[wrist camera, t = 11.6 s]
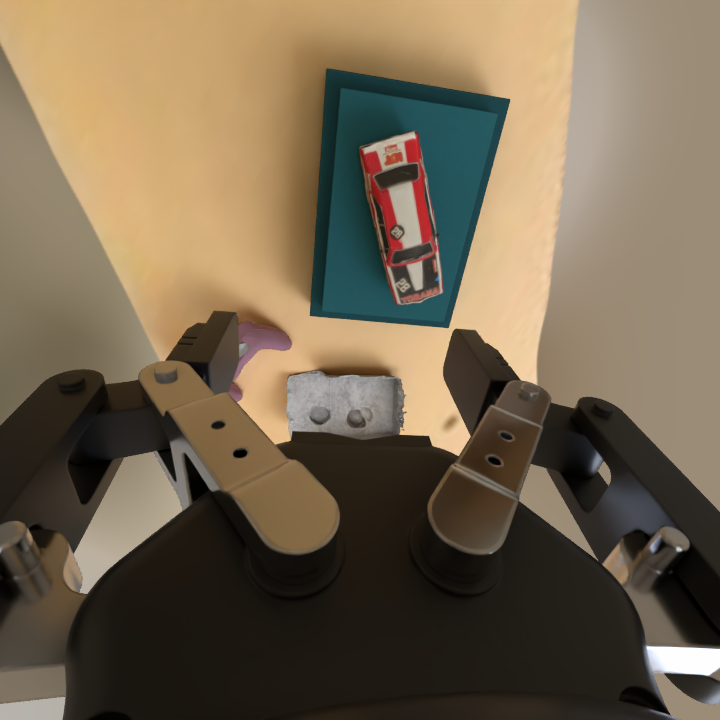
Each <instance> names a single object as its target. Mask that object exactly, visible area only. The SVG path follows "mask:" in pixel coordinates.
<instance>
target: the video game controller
mask: <svg viewBox="0 0 720 720" xmlns="http://www.w3.org/2000/svg"><path fill="white" fill-rule="evenodd" d="M238 333H239V364H238V368H237V371H236V373H235V376H234V379H233V381H232V382H234V381H235V379H236V378H237V377H238V376H239V374H240V372H241V370H242V368H243V366H244V365H245V364H246V363H247V362H248V361H249V360H250V359H251V358H252V357H253V356H254V355H255V354H256V353H257V351H259V350H261V349H274V350H280V351H285V350H289V349H290V348H291V346H292V342H291V340H290V338H289V336H287V335H286V334H285V333H284V332H282V331H280V330H279V329H276V328H274V327H271V326H268V325H263V324H255V323H253V322H252V321H246V322H244V323H242V324H240V325H239V324H238ZM228 393H229V394H230V396H231V397H232V398H233V399H234V400H235V401H236V402H238V401H240V400H241V399H242V396H243V395H242V392H241V390H240V389H239V388H238V386H236V385H235V384H233V383H232V384H231V387H230V390H229V392H228Z"/></svg>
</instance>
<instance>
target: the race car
mask: <svg viewBox="0 0 720 720" xmlns="http://www.w3.org/2000/svg"><path fill="white" fill-rule="evenodd" d="M359 152H360V163H361V165H362V169H363V175H364V179H365V189H366V195H367V200H368V203H369V206H370V210H371V214H372V219H373V222H374V227H375V231H376V235H377V239H378V243H379V248H380V252H381V257H382V260H383V264H384V268H385V272H386V278H387V281H388V284H389V287H390V291H391V294H392V297H393V299H394V302H395V304H397V305H403V304H412V303H421V302H422V301H424V300H426V299H428V298H430V297H433V296H436V295H439V294H441V293H443V292H444V289H443V280H442V268H441V261H440V253H439V244H438V238H437V237H439V233H438V234H437V232H436V224H435V216H434V211H433V207H432V203H431V198H430V194H429V187H428V178H427V174H426V171H425V167H424V163H423V157H422V151H421V147H420V142H419V134H418V132H417V131H411V132H405V133H403V134H401V135H395V136H392V137H389V138H386V139H383V140H380V141H376V142H373V143H371V144H367V145H364V146H360V148H359Z"/></svg>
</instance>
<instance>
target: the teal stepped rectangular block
mask: <svg viewBox="0 0 720 720" xmlns="http://www.w3.org/2000/svg"><path fill="white" fill-rule="evenodd" d="M509 103H510V99H506V98H500V97H494V96H488V95H482V94H476V93H470V92H464V91H458V90H452V89H447V88H441V87H435V86H429V85H423V84H417V83H411V82H405V81H399V80H393V79H387V78H382V77H376V76H370V75H364V74H358V73H352V72H346V71H340V70H334V69H328V68H327V70H326V84H325V99H324V114H323V129H322V144H321V158H320V173H319V188H318V203H317V217H316V232H315V247H314V262H313V277H312V291H311V306H310V316H317V317H328V318H340V319H351V320H363V321H374V322H386V323H397V324H409V325H420V326H432V327H443V328H449V325H450V321H451V318H452V314H453V310H454V306H455V303H456V299H457V295H458V292H459V288H460V284H461V281H462V277H463V273H464V269H465V266H466V262H467V258H468V255H469V251H470V247H471V244H472V240H473V236H474V232H475V229H476V225H477V221H478V218H479V214H480V210H481V206H482V203H483V199H484V195H485V192H486V188H487V184H488V181H489V177H490V173H491V169H492V166H493V162H494V158H495V155H496V151H497V147H498V144H499V140H500V136H501V132H502V129H503V125H504V121H505V118H506V114H507V110H508V107H509ZM411 131H417V132H418V134H419V142H420V147H421V151H422V157H423V163H424V167H425V171H426V174H427V178H428V187H429V194H430V198H431V203H432V207H433V211H434V216H435V224H436V232H437V234H438V233H439V237H437V238H438V244H439V253H440V261H441V268H442V280H443V289H444V292H443V293H441V294H439V295H436V296H433V297H430V298H428V299H426V300H424V301H422V302H421V303H412V304H403V305H397V304H395V302H394V299H393V297H392V294H391V291H390V287H389V284H388V281H387V278H386V272H385V268H384V264H383V260H382V257H381V252H380V248H379V243H378V239H377V235H376V231H375V227H374V222H373V219H372V214H371V210H370V206H369V203H368V200H367V195H366V189H365V179H364V175H363V169H362V165H361V163H360V152H359V148H360V146H364V145H367V144H371V143H373V142H376V141H380V140H383V139H386V138H389V137H392V136H395V135H401V134H403V133H405V132H411Z"/></svg>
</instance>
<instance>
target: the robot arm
mask: <svg viewBox="0 0 720 720" xmlns="http://www.w3.org/2000/svg"><path fill="white" fill-rule="evenodd" d="M238 364H239V333H238V317H237V313H236V312H227V311H213V313H212V315H211V316H210V318H209V320H208V321H207V323H197V324H195V325H193V326H192V327H190V328H188V329H187V330H186V331H185V333H184V334H183V336H182V338H181V339H180V340H179V341H178V344H177V345H176V346H175V347H174V349H173V350H172V352H171V353H170V354H169V356H168V357H167V359H166V360H165V361H161V362H157V363H154V364H151V365H149V366H147V367H145V368H144V369H142V370H141V372H140V373H139V375H138V380H135V381H129V382H122V383H114V384H105V380H104V377H103V375H102V374H101V373H99V372H97V371H94V370H85V369H81V370H72V371H67V372H63V373H60V374H57V375H55V376H53V377H51V378H49V379H47V380H46V381H44V382H43V383H42V384H41V385H40V386H39V387H38V388H37V389H36V390H35V391H34V392H33V393H32V394H31V395H30V397H28V398H27V399H26V400H25V401H24V402H23V403H22V404H21V405H20V406H19V407H18V408H17V409H16V411H14V412H13V413H12V415H10V416H9V418H7V420H5V422H4V423H3V424H2V425H1V426H0V704H3V703H12V702H21V701H30V700H39V699H48V698H56V697H66V698H65V708H64V715H63V720H679V719H677V718H675V717H672V716H671V715H670V713H669V712H668V710H667V707H666V706H665V703H664V701H663V699H662V696H661V694H660V691H659V689H658V686H657V683H656V680H655V677H654V675H653V673H664V674H665V675H666V677H667V678H668V679H669V680H670V681H671V682H672V683H673V684H674V685H675V686H676V687H677V688H679V689H680V690H681V691H682V692H683V693H685V694H687V695H688V696H689V697H691V698H693V699H695V700H697V701H699V702H702V703H706V704H717V703H720V512H719V511H718V510H717V509H716V508H715V506H713V504H712V503H711V502H710V501H709V500H708V499H707V498H706V497H705V496H704V495H703V494H702V493H701V492H700V491H699V490H698V489H697V488H696V487H695V486H694V485H693V484H692V483H691V482H690V481H689V479H688V478H687V477H686V476H685V475H684V474H683V473H682V472H681V471H680V470H679V469H678V468H677V467H676V466H675V465H674V464H673V463H672V462H671V461H670V460H669V459H668V458H667V457H666V456H665V455H664V454H663V453H662V452H661V451H660V449H659V448H658V447H657V446H656V445H655V444H654V443H653V442H652V441H651V440H650V439H649V438H648V437H647V436H646V435H645V434H644V433H643V432H642V431H641V430H640V429H639V428H638V427H637V426H636V425H635V424H634V422H633V421H632V420H631V419H630V418H629V417H628V416H627V415H626V414H625V413H624V412H623V411H622V410H621V409H619V408H618V407H616V406H615V405H613V404H611V403H609V402H607V401H604V400H602V399H598V398H593V397H583V398H581V399H579V401H578V402H577V404H576V407H575V408H570V407H566V406H561V405H558V404H554V403H551V397H550V395H549V394H548V393H547V392H546V391H545V390H544V389H543V388H541V387H539V386H537V385H535V384H533V383H530V382H526V381H521V380H520V379H519V377H518V376H517V375H516V373H515V372H514V371H513V369H512V368H511V367H510V366H508V363H507V362H506V360H504V358H503V357H502V355H501V354H500V353H499V351H498V350H496V349H495V348H493V347H492V346H491V345H489V344H488V343H485V342H484V341H483V340H482V338H481V337H480V336H479V334H478V333H477V331H475V330H466V329H455V330H454V331H453V333H452V336H451V340H450V343H449V347H448V351H447V355H446V358H445V362H444V367H443V376H444V380H445V382H446V385H447V387H448V389H449V391H450V393H451V395H452V397H453V399H454V402H455V404H456V406H457V408H458V410H459V412H460V414H461V417H462V419H463V421H464V423H465V425H466V427H467V429H468V431H469V434H470V436H471V437H470V439H469V441H468V442H467V444H466V445H465V447H464V449H463V450H462V452H461V454H460V455H459V456H457V455H455V454H453V453H451V452H449V451H446V450H444V449H441V448H437V447H434V446H432V444H431V441H430V438H429V436H413V435H392V436H386V437H380V438H373V439H367V440H360V439H355V438H351V437H346V436H342V435H337V434H333V433H328V432H306V431H292V438H291V441H289V442H284V443H280V444H276V445H275V444H274V443H273V442H272V441H271V440H270V439H269V438H268V436H267V435H266V434H265V433H264V432H263V431H262V430H261V429H260V428H259V426H258V425H257V424H256V423H255V422H254V421H253V420H252V419H251V418H250V417H249V415H248V414H247V413H246V412H245V411H244V410H243V409H242V408H241V407H240V405H239V404H238V403H237V402H236V401H235V400H234V399H233V398H232V397H231V396H230V394H229V393H228V392H229V390H230V387H231V384H232V381H233V379H234V376H235V373H236V371H237V368H238ZM153 451H154V454H155V456H156V458H157V459H158V461H159V463H160V465H161V467H162V468H163V470H164V472H165V474H166V476H167V477H168V479H169V481H170V483H171V484H172V486H173V488H174V490H175V492H176V493H177V496H178V498H179V500H180V503H181V506H182V510H183V511H182V512H181V513H179V514H178V515H177V516H175V517H174V518H173V519H172V520H170V521H169V522H168V523H167V524H165V525H164V526H163V527H162V528H160V529H159V530H158V531H157V532H155V533H154V534H152V535H151V536H150V537H149V538H147V539H146V540H145V541H143V542H142V543H141V544H140V545H138V546H137V547H136V548H135V549H133V550H132V551H131V552H129V553H128V554H127V555H126V556H124V557H123V558H122V559H120V560H119V561H118V562H117V563H116V564H114V565H113V566H112V567H111V568H110V569H108V571H106V573H105V574H104V575H103V576H102V577H101V578H100V579H99V580H98V581H97V583H96V584H95V585H94V586H93V587H92V589H91V590H90V591H89V593H88V594H83V593H79V592H80V589H81V586H82V573H81V571H80V568H79V566H78V563H77V561H76V559H75V557H74V552H75V550H76V548H77V547H78V545H79V543H80V541H81V539H82V537H83V535H84V533H85V531H86V529H87V527H88V525H89V524H90V522H91V520H92V518H93V516H94V514H95V512H96V510H97V508H98V507H99V505H100V503H101V501H102V499H103V497H104V495H105V493H106V491H107V489H108V487H109V486H110V484H111V482H112V480H113V478H114V476H115V474H116V472H117V470H118V468H119V466H120V465H121V463H122V461H123V458H124V457H128V456H133V455H138V454H143V453H148V452H153ZM603 461H605V463H606V464H607V465H608V467H609V469H610V472H611V482H610V484H609V486H608V485H607V484H606V482H605V481H604V479H603V478H602V477H601V475H600V474H599V472H598V469H599V468H600V466H601V465H602V463H603ZM530 464H533V465H537V466H541V467H544V468H546V469H547V471H548V473H549V475H550V477H551V479H552V480H553V482H554V484H555V486H556V487H557V489H558V491H559V493H560V494H561V496H562V498H563V499H564V501H565V503H566V505H567V507H568V508H569V510H570V512H571V514H572V515H573V517H574V519H575V520H576V522H577V524H578V525H579V527H580V529H581V531H582V533H583V535H584V536H585V538H586V540H587V542H588V543H589V545H590V547H591V549H592V550H593V552H594V554H595V556H596V557H597V559H598V561H599V562H598V561H597V560H596V559H595V558H593V557H592V556H591V555H589V554H588V553H587V552H586V551H584V550H583V549H581V548H580V547H579V546H577V545H576V544H575V543H574V542H572V541H571V540H570V539H568V538H567V537H565V536H564V535H563V534H562V533H560V532H559V531H558V530H556V529H555V528H554V527H553V526H551V525H550V524H549V523H547V522H546V521H545V520H543V519H542V518H541V517H539V516H538V515H537V514H535V513H534V512H533V511H531V510H530V509H529V508H527V507H526V506H525V505H524V504H522V503H521V502H520V501H519V495H520V492H521V490H522V487H523V484H524V481H525V478H526V476H527V473H528V470H529V467H530Z"/></svg>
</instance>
